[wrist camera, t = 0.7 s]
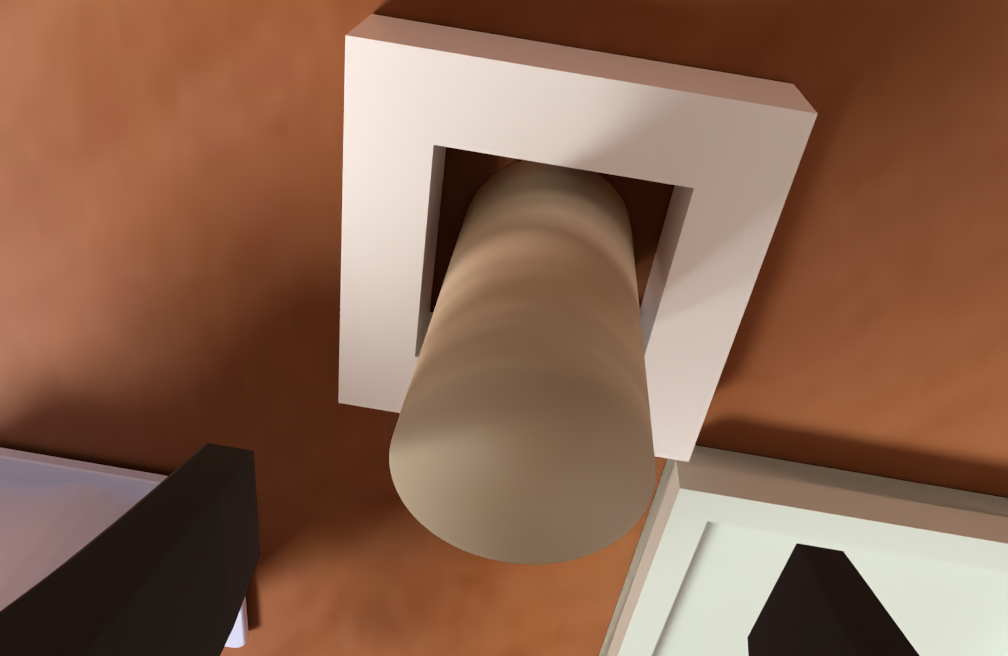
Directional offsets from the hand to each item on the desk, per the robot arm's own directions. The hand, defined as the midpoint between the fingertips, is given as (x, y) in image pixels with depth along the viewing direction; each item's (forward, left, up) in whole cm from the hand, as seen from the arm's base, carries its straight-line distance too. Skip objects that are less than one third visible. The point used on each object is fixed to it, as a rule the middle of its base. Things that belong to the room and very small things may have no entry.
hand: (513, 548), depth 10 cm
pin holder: (0, 0, -9) cm, 9 cm away
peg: (0, 0, -9) cm, 9 cm away
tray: (+11, -12, -9) cm, 19 cm away
